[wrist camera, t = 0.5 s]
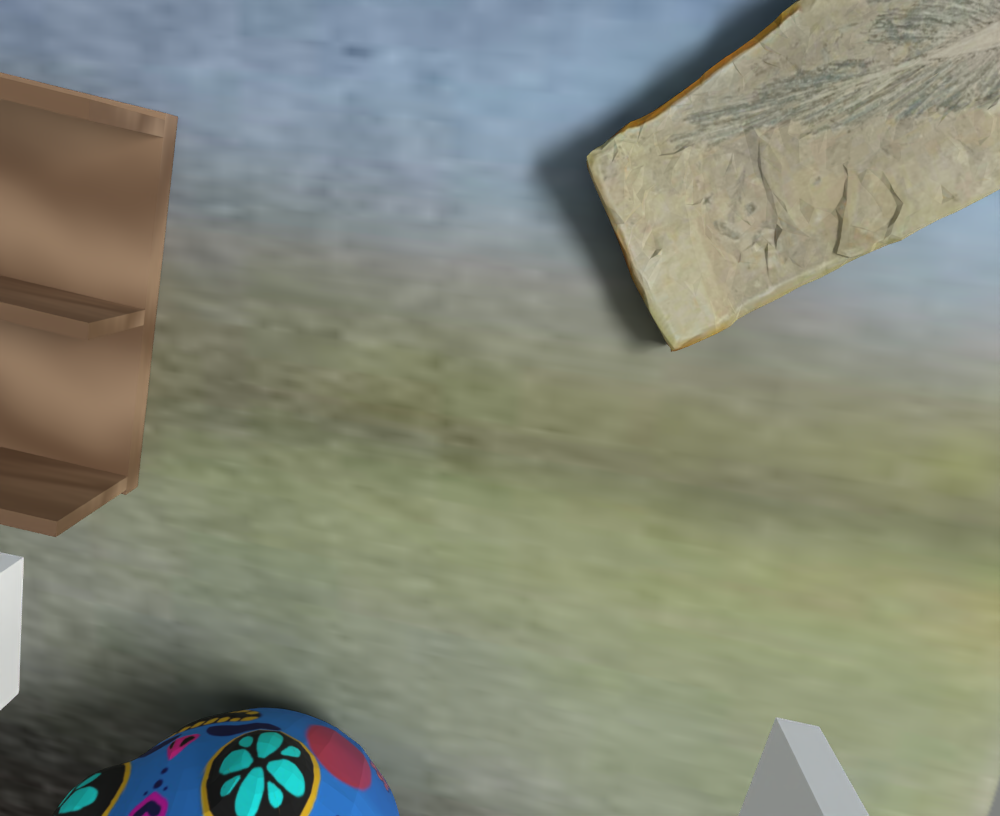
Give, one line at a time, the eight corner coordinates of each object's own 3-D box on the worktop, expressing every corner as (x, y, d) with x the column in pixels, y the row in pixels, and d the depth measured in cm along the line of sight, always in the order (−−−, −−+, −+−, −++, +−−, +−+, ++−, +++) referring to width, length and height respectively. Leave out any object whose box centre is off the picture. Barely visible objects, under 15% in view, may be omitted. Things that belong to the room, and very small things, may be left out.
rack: (-44, 62, 35) (-187, 22, 28) (177, 116, 35) (90, 91, 28) (-56, 441, 40) (-180, 488, 33) (137, 486, 40) (55, 542, 33)
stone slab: (1334, 17, 30) (691, 377, 33) (1234, 42, 34) (671, 361, 38) (1249, -291, 27) (562, 138, 31) (1152, -224, 31) (555, 148, 35)
